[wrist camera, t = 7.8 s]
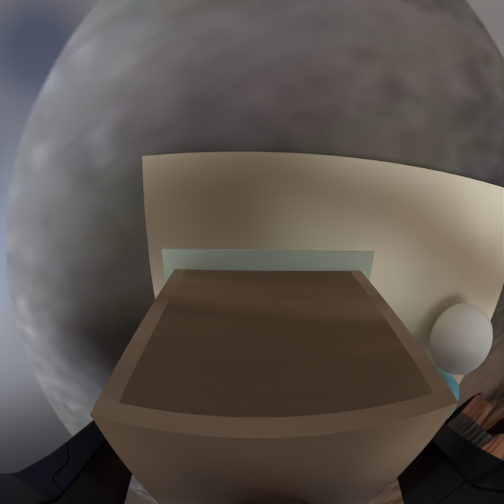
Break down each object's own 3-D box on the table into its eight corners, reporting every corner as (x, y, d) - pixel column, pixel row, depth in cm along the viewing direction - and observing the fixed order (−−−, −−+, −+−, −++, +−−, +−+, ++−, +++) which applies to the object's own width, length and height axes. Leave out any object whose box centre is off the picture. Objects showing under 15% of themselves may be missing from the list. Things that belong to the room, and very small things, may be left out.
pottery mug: (500, 361, 13) (548, 415, 7) (470, 384, 20) (508, 426, 14) (392, 473, 13) (442, 531, 7) (389, 462, 19) (427, 506, 13)
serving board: (409, 440, 15) (413, 449, 14) (200, 459, 15) (199, 471, 14) (508, 189, 9) (522, 193, 8) (153, 155, 9) (141, 156, 8)
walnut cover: (322, 423, 12) (344, 541, 5) (199, 424, 12) (181, 545, 5) (360, 270, 9) (481, 440, 2) (174, 269, 9) (68, 459, 2)
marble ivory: (455, 342, 10) (485, 379, 7) (409, 351, 10) (438, 396, 7) (475, 288, 9) (514, 321, 6) (429, 292, 9) (471, 333, 6)
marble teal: (430, 392, 11) (451, 429, 9) (386, 403, 11) (404, 445, 9) (450, 352, 10) (479, 389, 8) (405, 361, 10) (432, 406, 8)
